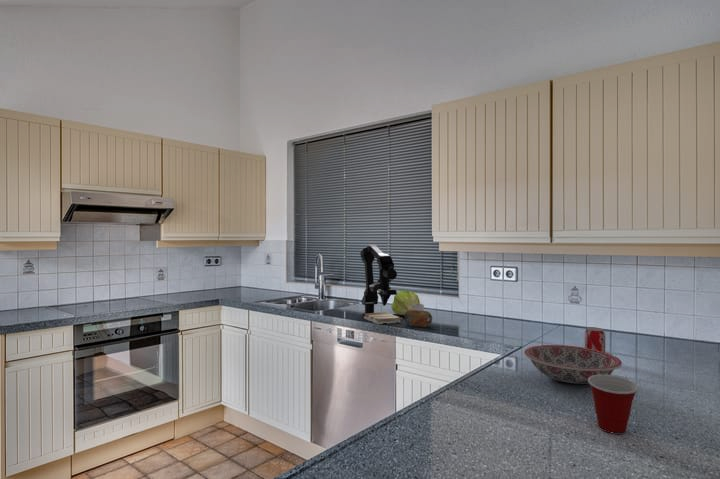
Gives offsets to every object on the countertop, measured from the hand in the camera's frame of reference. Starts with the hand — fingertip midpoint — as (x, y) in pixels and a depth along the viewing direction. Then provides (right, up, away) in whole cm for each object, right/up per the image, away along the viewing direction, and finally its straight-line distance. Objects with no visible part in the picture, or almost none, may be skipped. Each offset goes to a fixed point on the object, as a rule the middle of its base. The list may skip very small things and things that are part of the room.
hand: (384, 305), depth 242 cm
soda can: (+77, -10, -75) cm, 108 cm away
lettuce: (+14, -9, +17) cm, 24 cm away
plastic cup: (+49, -10, -135) cm, 144 cm away
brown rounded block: (+17, -9, -12) cm, 23 cm away
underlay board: (-1, -9, +3) cm, 9 cm away
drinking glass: (+18, -9, -4) cm, 21 cm away
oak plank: (0, -7, +1) cm, 7 cm away
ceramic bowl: (+57, -10, -98) cm, 113 cm away
